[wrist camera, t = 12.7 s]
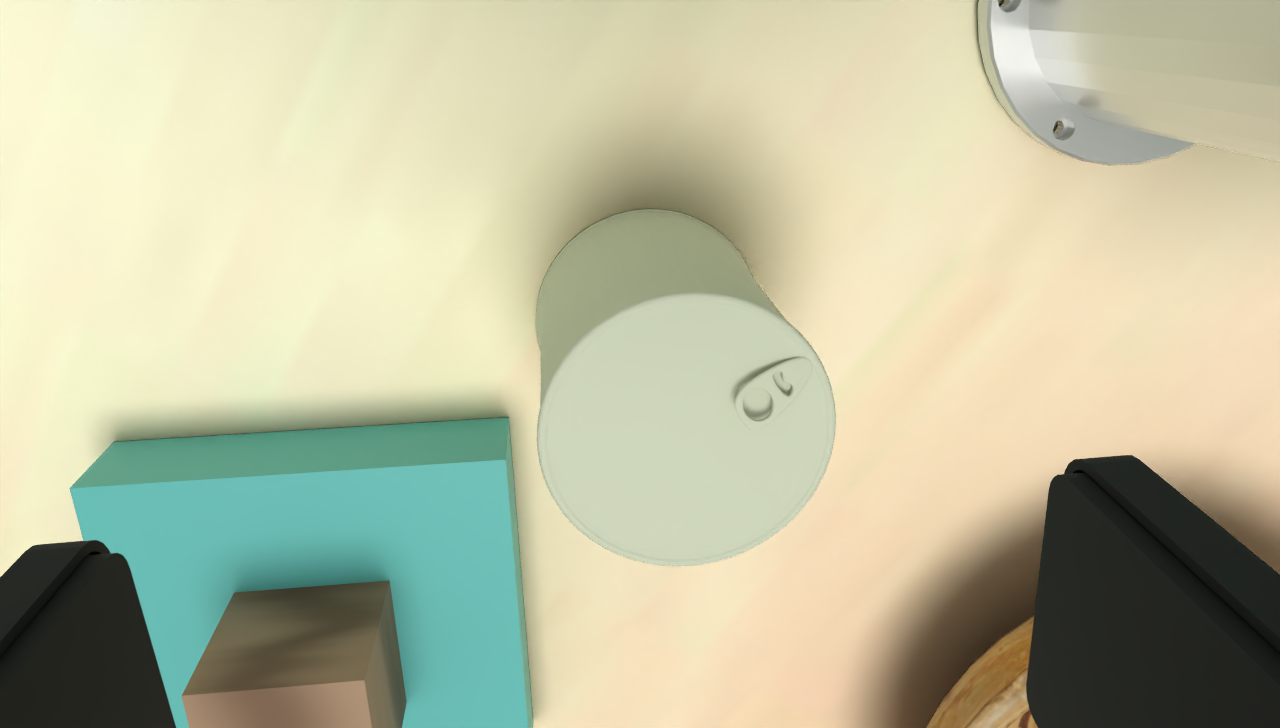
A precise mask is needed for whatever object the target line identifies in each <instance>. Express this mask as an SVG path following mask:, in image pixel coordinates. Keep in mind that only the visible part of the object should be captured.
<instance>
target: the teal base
mask: <svg viewBox="0 0 1280 728" xmlns="http://www.w3.org/2000/svg"><path fill="white" fill-rule="evenodd" d="M70 492H71V496H72V499H73V503H74V507H75V510H76V514H77V518H78V522H79V525H80V529H81V533H82V537H83V540H84V541H89V540H98V541H100V542H102V543H104V544H105V546H106V547H107V548H108V549H109V551H110V553H119V554H121V555H123V556H124V557H125V559H126V560H127V562H128V564H129V567H130V570H131V573H132V577H133V580H134V584H135V587H136V591H137V594H138V597H139V601H140V604H141V608H142V611H143V615H144V618H145V622H146V625H147V628H148V632H149V635H150V639H151V642H152V646H153V649H154V653H155V656H156V659H157V663H158V666H159V670H160V673H161V677H162V680H163V684H164V687H165V690H166V694H167V697H168V701H169V704H170V708H171V711H172V715H173V718H174V722H175V725H176V728H189V725H188V721H187V717H186V713H185V709H184V704H183V700H182V694H183V692H184V690H185V688H186V686H187V684H188V682H189V680H190V678H191V676H192V674H193V672H194V670H195V668H196V666H197V664H198V662H199V660H200V658H201V656H202V655H203V653H204V651H205V649H206V647H207V645H208V643H209V641H210V639H211V637H212V635H213V633H214V631H215V629H216V627H217V625H218V623H219V621H220V619H221V617H222V615H223V613H224V611H225V609H226V607H227V605H228V604H229V602H230V600H231V598H232V596H233V594H234V592H247V591H260V590H273V589H286V588H299V587H312V586H325V585H338V584H351V583H364V582H377V581H390V587H391V594H392V601H393V608H394V615H395V622H396V630H397V637H398V644H399V651H400V658H401V665H402V673H403V680H404V687H405V694H406V701H407V703H406V709H405V714H404V719H403V725H402V728H533V712H532V700H531V688H530V675H529V663H528V650H527V638H526V625H525V613H524V600H523V588H522V575H521V563H520V550H519V538H518V526H517V513H516V501H515V488H514V476H513V463H512V451H511V438H510V426H509V417H504V418H488V419H472V420H456V421H440V422H424V423H408V424H392V425H376V426H360V427H344V428H328V429H312V430H296V431H280V432H264V433H248V434H232V435H216V436H200V437H184V438H168V439H152V440H136V441H121V442H113V443H112V445H111V446H110V447H109V448H108V449H107V450H106V451H105V452H104V453H103V454H102V455H101V456H100V457H99V458H98V459H97V460H96V461H95V462H94V463H93V464H92V466H91V467H90V468H89V469H88V470H87V471H86V472H85V473H84V474H83V475H82V476H81V477H80V478H79V479H78V480H77V481H76V482H75V483H74V484H73V485H72V487H71V488H70Z"/></svg>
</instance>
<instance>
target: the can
mask: <svg viewBox="0 0 1280 728" xmlns="http://www.w3.org/2000/svg"><path fill="white" fill-rule="evenodd" d="M536 333H537V339H538V344H539V348H540V351H541V405H540V412H539V417H538V425H537V447H538V456H539V462H540V466H541V470H542V473H543V476H544V479H545V482H546V485H547V487H548V489H549V491H550V493H551V495H552V497H553V499H554V500H555V502H556V503H557V505H558V506H559V508H560V509H561V511H562V512H563V514H564V515H565V516H566V517H567V518H568V520H569V521H570V522H571V523H572V524H573V525H574V526H575V527H576V528H577V529H578V530H579V531H581V532H582V533H583V534H584V535H586V536H587V537H588V538H589V539H591V540H592V541H594V542H595V543H597V544H598V545H600V546H602V547H603V548H605V549H607V550H609V551H611V552H613V553H615V554H618V555H621V556H623V557H626V558H629V559H632V560H635V561H639V562H643V563H649V564H654V565H662V566H693V565H701V564H706V563H711V562H716V561H720V560H723V559H727V558H730V557H733V556H735V555H738V554H741V553H743V552H745V551H747V550H750V549H751V548H753V547H755V546H757V545H759V544H761V543H762V542H764V541H765V540H767V539H769V538H770V537H772V536H773V535H775V534H776V533H777V532H779V531H780V530H781V529H782V528H784V527H785V526H786V525H787V524H788V523H789V522H790V521H791V520H792V519H793V518H794V517H795V516H796V515H797V514H798V513H799V512H800V511H801V510H802V508H803V507H804V506H805V505H806V503H807V502H808V501H809V499H810V498H811V497H812V495H813V494H814V492H815V490H816V489H817V487H818V485H819V483H820V481H821V479H822V477H823V475H824V473H825V471H826V468H827V465H828V463H829V460H830V457H831V453H832V448H833V443H834V437H835V425H836V414H835V403H834V398H833V393H832V388H831V385H830V382H829V378H828V376H827V374H826V371H825V369H824V367H823V365H822V362H821V361H820V359H819V357H818V355H817V354H816V352H815V351H814V349H813V348H812V346H811V345H810V344H809V342H808V341H807V340H806V339H805V338H804V337H803V335H802V334H801V333H800V332H799V331H798V330H796V329H795V328H794V327H793V326H792V325H791V324H790V323H789V322H787V320H786V319H785V318H784V317H783V315H782V314H781V313H780V312H779V311H778V309H777V308H776V307H775V306H774V304H773V303H772V302H771V301H770V299H769V298H768V297H767V295H766V294H765V293H764V291H763V290H762V289H761V288H760V286H759V285H758V284H757V282H756V281H755V280H754V279H753V276H752V274H751V272H750V269H749V267H748V266H747V264H746V262H745V260H744V258H743V257H742V256H741V254H740V253H739V251H738V250H737V249H736V248H735V246H734V245H733V244H732V243H731V242H730V241H729V240H728V239H727V238H726V237H725V236H724V235H722V234H721V233H720V232H719V231H717V230H716V229H715V228H713V227H712V226H710V225H708V224H706V223H704V222H703V221H701V220H699V219H696V218H694V217H692V216H689V215H686V214H683V213H678V212H674V211H668V210H659V209H643V210H634V211H628V212H624V213H620V214H616V215H613V216H611V217H608V218H605V219H603V220H601V221H599V222H597V223H595V224H593V225H591V226H590V227H588V228H587V229H585V230H584V231H582V232H581V233H580V234H578V235H577V236H576V237H575V238H573V239H572V240H571V241H570V242H569V243H568V244H567V245H566V246H565V247H564V248H563V250H562V251H561V252H560V253H559V254H558V256H557V257H556V258H555V260H554V261H553V263H552V265H551V266H550V268H549V270H548V272H547V274H546V276H545V278H544V280H543V283H542V286H541V289H540V292H539V296H538V301H537V308H536Z"/></svg>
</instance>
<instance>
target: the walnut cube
mask: <svg viewBox="0 0 1280 728" xmlns="http://www.w3.org/2000/svg"><path fill="white" fill-rule="evenodd" d="M182 700H183V704H184V709H185V713H186V717H187V721H188V725H189V728H402V725H403V719H404V714H405V709H406V703H407V701H406V694H405V687H404V680H403V673H402V665H401V658H400V651H399V644H398V637H397V630H396V622H395V615H394V608H393V601H392V594H391V587H390V581H377V582H364V583H351V584H338V585H325V586H312V587H299V588H286V589H273V590H260V591H247V592H234V594H233V596H232V598H231V600H230V602H229V604H228V605H227V607H226V609H225V611H224V613H223V615H222V617H221V619H220V621H219V623H218V625H217V627H216V629H215V631H214V633H213V635H212V637H211V639H210V641H209V643H208V645H207V647H206V649H205V651H204V653H203V655H202V656H201V658H200V660H199V662H198V664H197V666H196V668H195V670H194V672H193V674H192V676H191V678H190V680H189V682H188V684H187V686H186V688H185V690H184V692H183V694H182Z"/></svg>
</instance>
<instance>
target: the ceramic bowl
mask: <svg viewBox="0 0 1280 728" xmlns="http://www.w3.org/2000/svg"><path fill="white" fill-rule="evenodd" d="M1033 622H1034V616H1032V617H1031V618H1029V619H1028V620H1026V621H1025V622H1023V623H1022V624H1020V625H1019V626H1017V627H1016V628H1014V629H1013V630H1011V631H1010V632H1008V633H1007V634H1005V635H1004V636H1002V637H1001V638H1000V639H999V640H998V641H997V642H995V643H994V644H993V645H992V646H991V647H990V648H989V649H988V650H986V651H985V652H984V653H983V654H982V655H981V656H980V657H978V658H977V659H976V660H975V661H974V662H973V663H972V664H971V665H970V667H969V668H968V669H967V670H966V671H965V673H964V674H963V675H962V676H961V677H960V678H959V680H958V681H957V682H956V683H955V684H954V686H953V687H952V688H951V689H950V690H949V691H948V693H947V694H946V695H945V696H944V698H943V700H942V701H941V703H940V705H939V706H938V708H937V710H936V711H935V713H934V714H933V716H932V718H931V719H930V721H929V723H928V724H927V726H926V728H1038V727H1037V725H1036V723H1035V721H1034V719H1033V717H1032V715H1031V712H1030V709H1029V705H1028V701H1027V694H1026V681H1027V673H1028V664H1029V656H1030V647H1031V639H1032V630H1033Z"/></svg>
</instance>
